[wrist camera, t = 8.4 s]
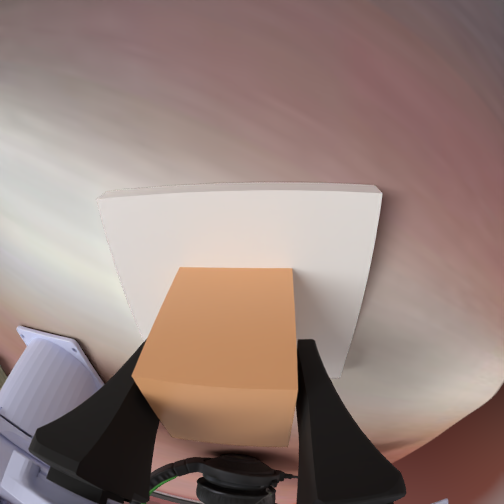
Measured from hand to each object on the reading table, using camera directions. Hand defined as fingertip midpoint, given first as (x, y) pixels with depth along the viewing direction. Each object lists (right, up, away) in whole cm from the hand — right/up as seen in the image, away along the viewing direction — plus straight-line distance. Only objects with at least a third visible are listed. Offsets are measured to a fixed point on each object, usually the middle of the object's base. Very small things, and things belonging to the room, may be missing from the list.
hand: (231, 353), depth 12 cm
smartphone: (-19, -72, +51) cm, 90 cm away
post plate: (0, +2, +3) cm, 4 cm away
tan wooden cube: (0, +1, +2) cm, 3 cm away
